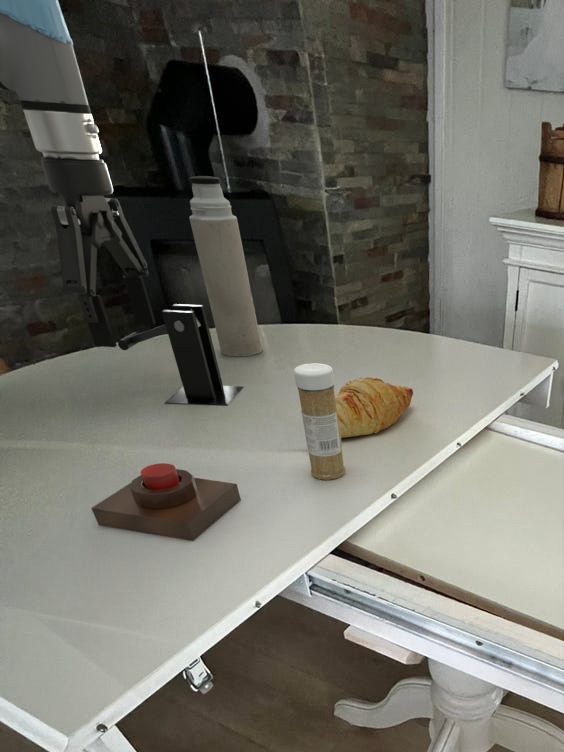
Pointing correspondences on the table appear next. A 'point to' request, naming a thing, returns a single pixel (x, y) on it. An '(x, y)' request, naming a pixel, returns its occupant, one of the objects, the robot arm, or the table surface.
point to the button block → (168, 507)
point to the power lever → (145, 335)
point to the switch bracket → (196, 359)
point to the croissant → (370, 406)
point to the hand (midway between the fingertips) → (127, 334)
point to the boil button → (160, 476)
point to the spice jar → (320, 419)
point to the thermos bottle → (224, 268)
